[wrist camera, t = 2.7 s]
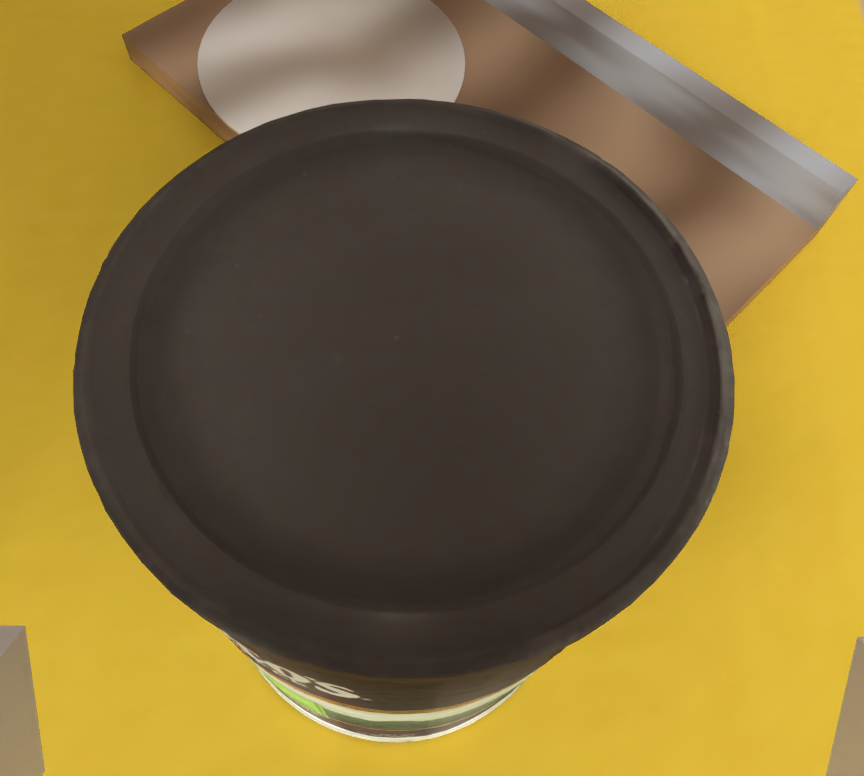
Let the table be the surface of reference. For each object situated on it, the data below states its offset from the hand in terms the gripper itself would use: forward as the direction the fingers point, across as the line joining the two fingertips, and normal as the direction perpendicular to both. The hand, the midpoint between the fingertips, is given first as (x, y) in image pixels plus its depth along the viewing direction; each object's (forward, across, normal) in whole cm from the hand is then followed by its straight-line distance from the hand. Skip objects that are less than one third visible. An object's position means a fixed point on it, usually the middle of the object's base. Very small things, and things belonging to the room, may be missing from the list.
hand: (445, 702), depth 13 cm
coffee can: (+12, -1, -4) cm, 13 cm away
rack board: (+24, +1, +8) cm, 25 cm away
